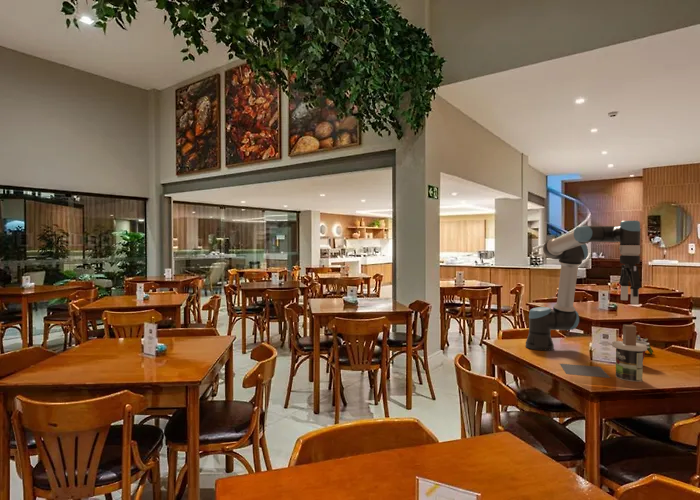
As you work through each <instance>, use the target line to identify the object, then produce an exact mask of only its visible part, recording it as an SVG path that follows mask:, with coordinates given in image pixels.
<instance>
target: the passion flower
mask: <svg viewBox="0 0 700 500" xmlns="http://www.w3.org/2000/svg"><path fill="white" fill-rule="evenodd" d="M648 339H649V338H641V336H640V335H639V334H636V340H638V341H643V342H646V343H648V344H649V345H648V346H647V352H648V353H649V355H653V353H654V350H653V349H652V347H651V345H650V342H647V341H648Z"/></svg>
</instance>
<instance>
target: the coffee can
mask: <svg viewBox="0 0 700 500" xmlns="http://www.w3.org/2000/svg"><path fill="white" fill-rule="evenodd" d="M643 362H644V359H643V351H628V350H622V349H618V348H615V377H616V378H617V379H620V380H623V381H628V382H643V381H644V380H643V374H644V373H643V370H644V369H643V368H644V367H643V366H644V364H643Z"/></svg>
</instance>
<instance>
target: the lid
mask: <svg viewBox="0 0 700 500" xmlns="http://www.w3.org/2000/svg"><path fill="white" fill-rule="evenodd" d="M636 336H637V326H636V325H634V324H622V340H614V341H612V343H611V346H612V347H613V348H615V349H616V348H618V349H622V350H628V351H645V352H648V350H647V346H646V345H644V344H640V343H636Z"/></svg>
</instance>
